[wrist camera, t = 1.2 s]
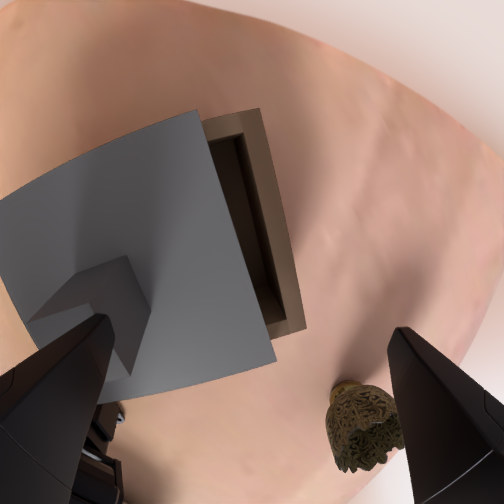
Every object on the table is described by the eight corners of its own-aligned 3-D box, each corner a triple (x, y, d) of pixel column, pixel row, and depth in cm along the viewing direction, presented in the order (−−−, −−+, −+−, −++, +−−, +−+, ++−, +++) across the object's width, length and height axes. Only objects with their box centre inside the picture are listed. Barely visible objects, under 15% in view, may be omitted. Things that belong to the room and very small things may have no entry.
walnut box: (129, 329, 22) (112, 377, 16) (74, 175, 18) (31, 182, 12) (281, 288, 23) (306, 328, 17) (242, 123, 19) (259, 107, 13)
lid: (82, 397, 16) (56, 464, 11) (-12, 211, 12) (-83, 239, 7) (273, 350, 17) (300, 428, 11) (197, 112, 13) (189, 79, 7)
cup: (355, 347, 26) (400, 404, 18) (388, 381, 28) (427, 430, 20) (293, 399, 26) (319, 463, 19) (333, 425, 29) (361, 480, 21)
